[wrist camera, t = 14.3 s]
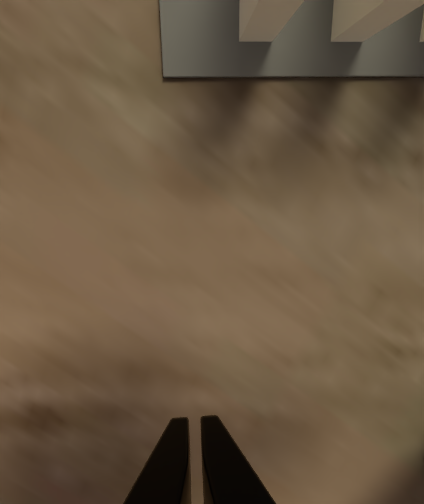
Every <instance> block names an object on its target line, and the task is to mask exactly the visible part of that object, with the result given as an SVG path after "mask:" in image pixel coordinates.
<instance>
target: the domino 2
mask: <svg viewBox="0 0 424 504" xmlns="http://www.w3.org/2000/svg"><path fill="white" fill-rule="evenodd" d="M423 4H424V0H334V5H333V18H332V32H331V42H363V41H365V40H366V39H368V38H370V37H371V36H373V35H374V34H376V33H378V32H379V31H381V30H383V29H384V28H386V27H387V26H389V25H391V24H392V23H394V22H395V21H397V20H399V19H400V18H402V17H403V16H405V15H407V14H408V13H410V12H412V11H413V10H415V9H416V8H418V7H420V6H421V5H423Z"/></svg>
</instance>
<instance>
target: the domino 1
mask: <svg viewBox="0 0 424 504" xmlns="http://www.w3.org/2000/svg"><path fill="white" fill-rule="evenodd" d="M303 1H304V0H239V42H272V41H273V40H274V39H275V37H276V36H277V35H278V33H279V32H280V31H281V30H282V28H283V27H284V26H285V24H286V23H287V22H288V21H289V19H290V18H291V17H292V15H293V14H294V13H295V12H296V10H297V9H298V8H299V6H300V5H301V4H302V3H303Z"/></svg>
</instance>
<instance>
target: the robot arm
mask: <svg viewBox="0 0 424 504" xmlns="http://www.w3.org/2000/svg"><path fill="white" fill-rule="evenodd" d="M201 450H202V473H203V495H204V504H276V503H275V501H274V500H273V498H272V497H271V495H270V494H269V492H268V491H267V489H266V488H265V486H264V485H263V483H262V482H261V480H260V479H259V477H258V476H257V474H256V473H255V471H254V470H253V468H252V467H251V465H250V464H249V462H248V461H247V459H246V458H245V456H244V455H243V453H242V452H241V450H240V449H239V447H238V446H237V444H236V443H235V441H234V440H233V438H232V437H231V435H230V434H229V432H228V431H227V429H226V428H225V426H224V425H223V423H222V421H221V420H220V418H219V417H218V416H216V415H209V416H202V417H201ZM123 504H191V470H190V436H189V419H188V418H187V417H179V418H172V419H171V420H170V422H169V424H168V425H167V427H166V429H165V431H164V432H163V434H162V436H161V438H160V439H159V441H158V443H157V445H156V446H155V448H154V450H153V452H152V454H151V455H150V457H149V459H148V461H147V462H146V464H145V466H144V468H143V469H142V471H141V473H140V475H139V476H138V478H137V480H136V482H135V484H134V485H133V487H132V489H131V491H130V492H129V494H128V496H127V498H126V499H125V501H124V503H123Z"/></svg>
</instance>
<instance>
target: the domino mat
mask: <svg viewBox="0 0 424 504" xmlns="http://www.w3.org/2000/svg"><path fill="white" fill-rule="evenodd" d="M159 2H160V21H161V40H162V60H163V77H164V78H207V77H424V42H419V41H420V34H421V27H422V19H423V12H424V4H423V5H421V6H420V7H418V8H416V9H415V10H413V11H412V12H410V13H408V14H407V15H405V16H403V17H402V18H400V19H399V20H397V21H395V22H394V23H392V24H391V25H389V26H387V27H386V28H384V29H383V30H381V31H379V32H378V33H376V34H374V35H373V36H371V37H370V38H368V39H366V40H365V41H363V42H331V32H332V18H333V5H334V0H304V1H303V3H302V4H301V5H300V6H299V8H298V9H297V10H296V12H295V13H294V14H293V15H292V17H291V18H290V19H289V21H288V22H287V23H286V24H285V26H284V27H283V28H282V30H281V31H280V32H279V33H278V35H277V36H276V37H275V39H274V40H273V41H272V42H239V0H159Z"/></svg>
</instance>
